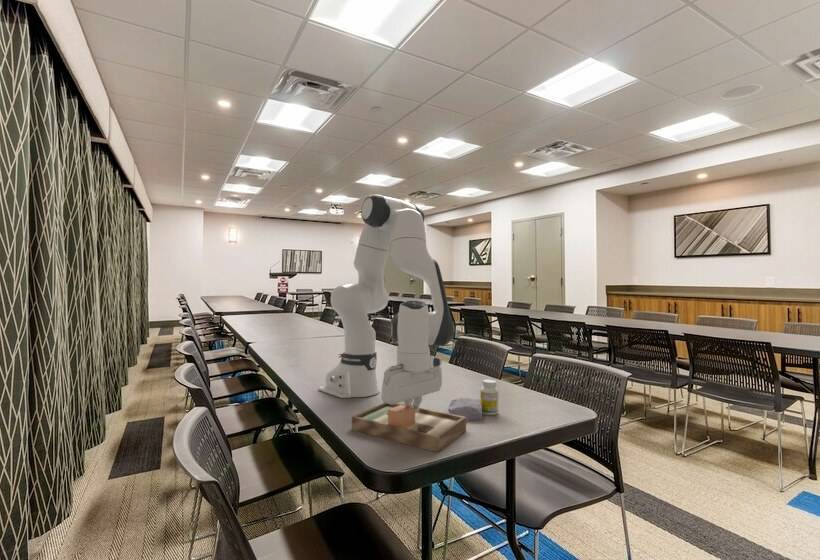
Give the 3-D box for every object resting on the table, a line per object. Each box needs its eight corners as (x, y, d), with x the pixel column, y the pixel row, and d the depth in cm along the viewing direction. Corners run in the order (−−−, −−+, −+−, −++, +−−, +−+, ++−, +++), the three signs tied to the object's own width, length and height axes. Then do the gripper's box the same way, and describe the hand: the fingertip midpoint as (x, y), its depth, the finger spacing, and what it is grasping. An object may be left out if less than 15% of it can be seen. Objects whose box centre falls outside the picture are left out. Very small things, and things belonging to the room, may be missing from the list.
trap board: (351, 429, 101) (352, 416, 102) (387, 412, 116) (387, 401, 116) (437, 452, 88) (437, 437, 88) (466, 429, 102) (466, 417, 102)
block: (387, 425, 98) (388, 409, 99) (400, 419, 102) (400, 404, 102) (402, 429, 95) (403, 413, 95) (415, 424, 99) (415, 408, 99)
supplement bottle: (493, 416, 113) (493, 384, 113) (477, 412, 116) (477, 381, 117) (501, 412, 117) (501, 380, 118) (485, 408, 121) (485, 378, 121)
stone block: (451, 426, 110) (485, 420, 110) (447, 409, 111) (482, 403, 110) (450, 414, 122) (481, 409, 121) (447, 399, 122) (478, 393, 122)
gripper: (393, 369, 93) (392, 426, 92) (445, 358, 107) (445, 408, 107) (376, 365, 97) (375, 420, 97) (428, 355, 112) (428, 403, 112)
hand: (412, 413), depth 102 cm, fingers closed
